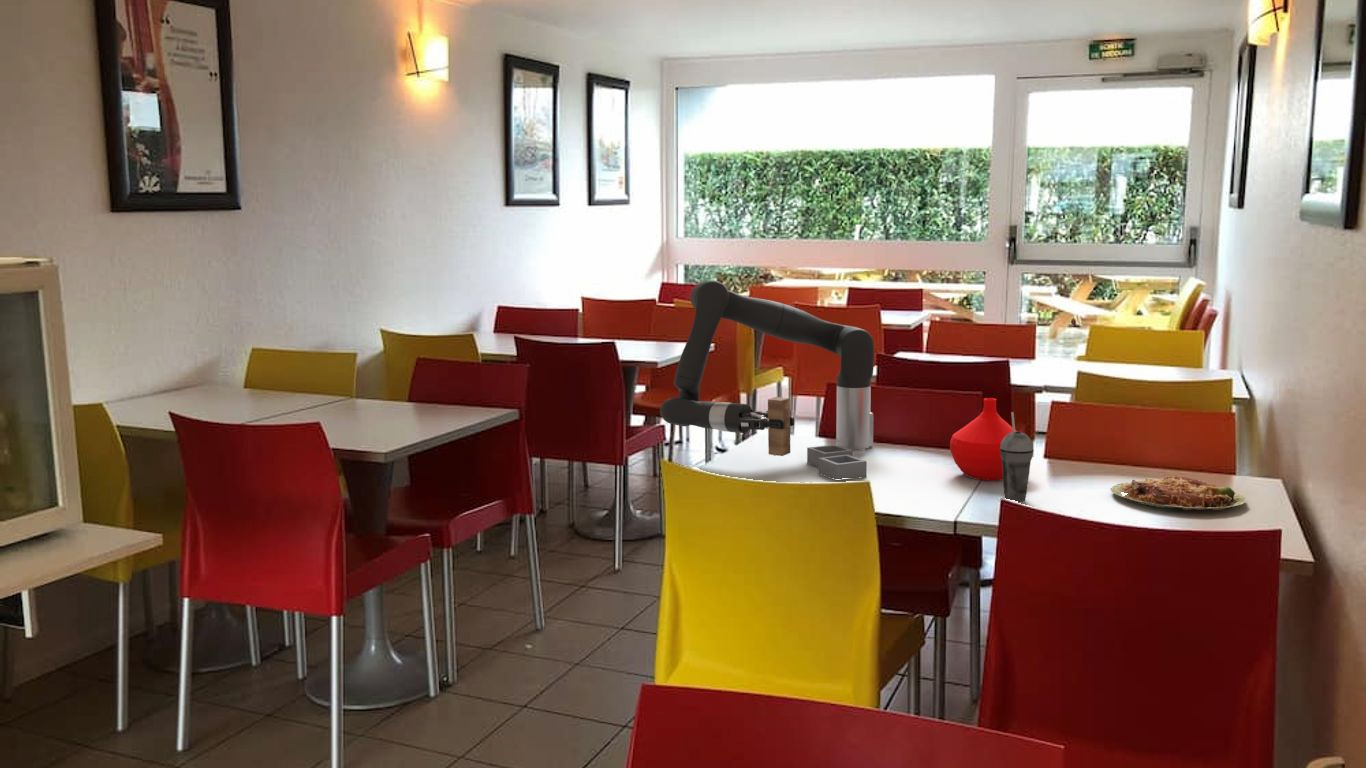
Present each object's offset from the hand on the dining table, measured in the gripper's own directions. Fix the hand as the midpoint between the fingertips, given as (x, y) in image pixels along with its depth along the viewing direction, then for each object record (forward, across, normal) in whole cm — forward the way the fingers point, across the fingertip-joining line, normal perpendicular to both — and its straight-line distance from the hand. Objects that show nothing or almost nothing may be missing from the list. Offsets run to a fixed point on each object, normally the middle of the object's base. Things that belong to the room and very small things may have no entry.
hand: (788, 423), depth 274 cm
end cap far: (+4, +14, +13) cm, 19 cm away
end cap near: (+12, +4, +13) cm, 18 cm away
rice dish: (+86, +24, +14) cm, 90 cm away
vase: (+43, +23, +14) cm, 50 cm away
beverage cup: (+56, +4, +13) cm, 58 cm away
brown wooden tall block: (-3, 0, +8) cm, 8 cm away
